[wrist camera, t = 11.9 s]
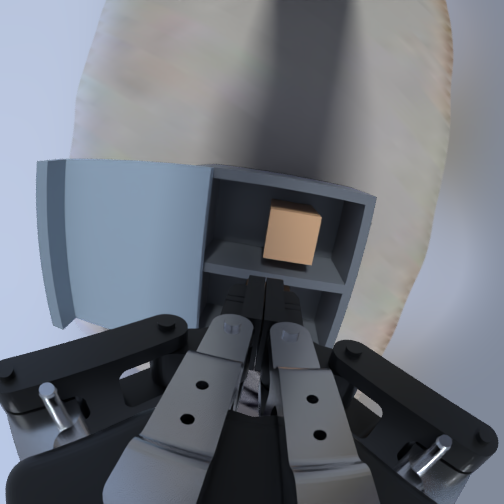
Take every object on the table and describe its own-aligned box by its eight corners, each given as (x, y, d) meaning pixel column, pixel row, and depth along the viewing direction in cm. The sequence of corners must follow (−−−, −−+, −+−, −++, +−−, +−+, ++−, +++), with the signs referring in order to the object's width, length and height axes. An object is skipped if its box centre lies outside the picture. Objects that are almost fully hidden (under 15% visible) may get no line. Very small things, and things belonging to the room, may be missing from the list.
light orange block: (271, 198, 27) (270, 208, 21) (311, 205, 27) (321, 217, 21) (265, 237, 28) (262, 257, 22) (304, 243, 28) (311, 265, 22)
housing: (216, 164, 27) (195, 165, 20) (351, 187, 27) (376, 197, 20) (201, 303, 32) (183, 340, 25) (317, 322, 32) (326, 362, 25)
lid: (62, 158, 20) (36, 161, 17) (214, 167, 20) (202, 169, 16) (70, 309, 25) (53, 325, 22) (197, 345, 25) (188, 369, 22)
